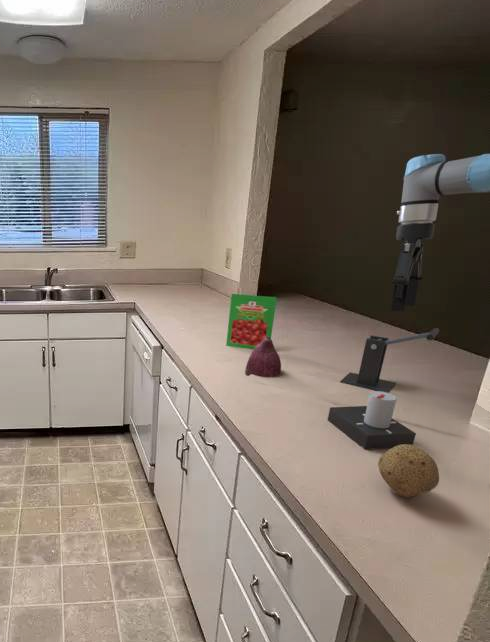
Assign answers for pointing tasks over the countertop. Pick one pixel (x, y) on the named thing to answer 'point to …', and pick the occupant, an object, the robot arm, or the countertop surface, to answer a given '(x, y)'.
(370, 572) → the countertop surface
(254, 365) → the vegetable
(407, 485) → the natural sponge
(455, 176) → the robot arm
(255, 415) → the countertop surface
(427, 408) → the countertop surface
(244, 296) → the tomato puree packet
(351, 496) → the countertop surface
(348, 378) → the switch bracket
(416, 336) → the switch lever
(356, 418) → the timer panel
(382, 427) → the timer knob
